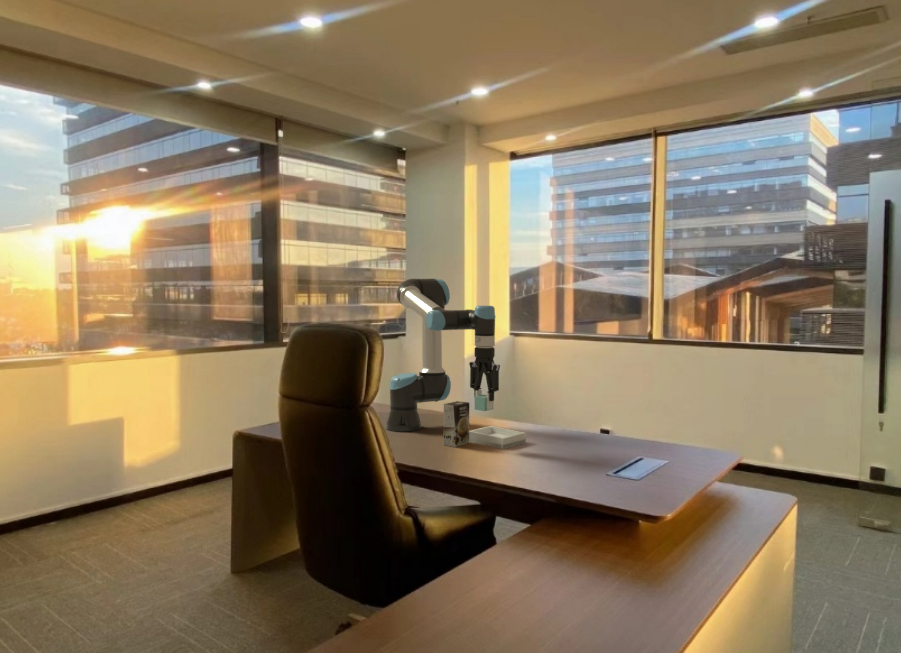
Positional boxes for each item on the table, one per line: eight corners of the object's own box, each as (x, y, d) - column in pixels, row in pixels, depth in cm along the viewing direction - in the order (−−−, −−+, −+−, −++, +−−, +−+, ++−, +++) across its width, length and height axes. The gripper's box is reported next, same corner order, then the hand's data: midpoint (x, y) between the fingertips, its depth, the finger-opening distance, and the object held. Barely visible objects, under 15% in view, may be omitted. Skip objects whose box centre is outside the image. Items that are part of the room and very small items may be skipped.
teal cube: (474, 409, 236) (474, 396, 235) (483, 407, 239) (483, 394, 239) (484, 411, 232) (484, 397, 232) (493, 409, 236) (493, 396, 235)
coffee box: (456, 447, 238) (456, 405, 237) (442, 445, 242) (442, 403, 241) (470, 443, 245) (470, 402, 244) (456, 440, 249) (456, 400, 248)
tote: (467, 441, 248) (467, 431, 248) (490, 435, 258) (491, 425, 258) (503, 449, 235) (503, 438, 235) (525, 442, 245) (525, 432, 245)
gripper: (460, 345, 238) (459, 406, 240) (496, 349, 225) (495, 413, 227) (473, 344, 243) (473, 403, 245) (509, 348, 230) (508, 410, 232)
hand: (484, 408), depth 236 cm, fingers closed on teal cube, 5 cm apart
